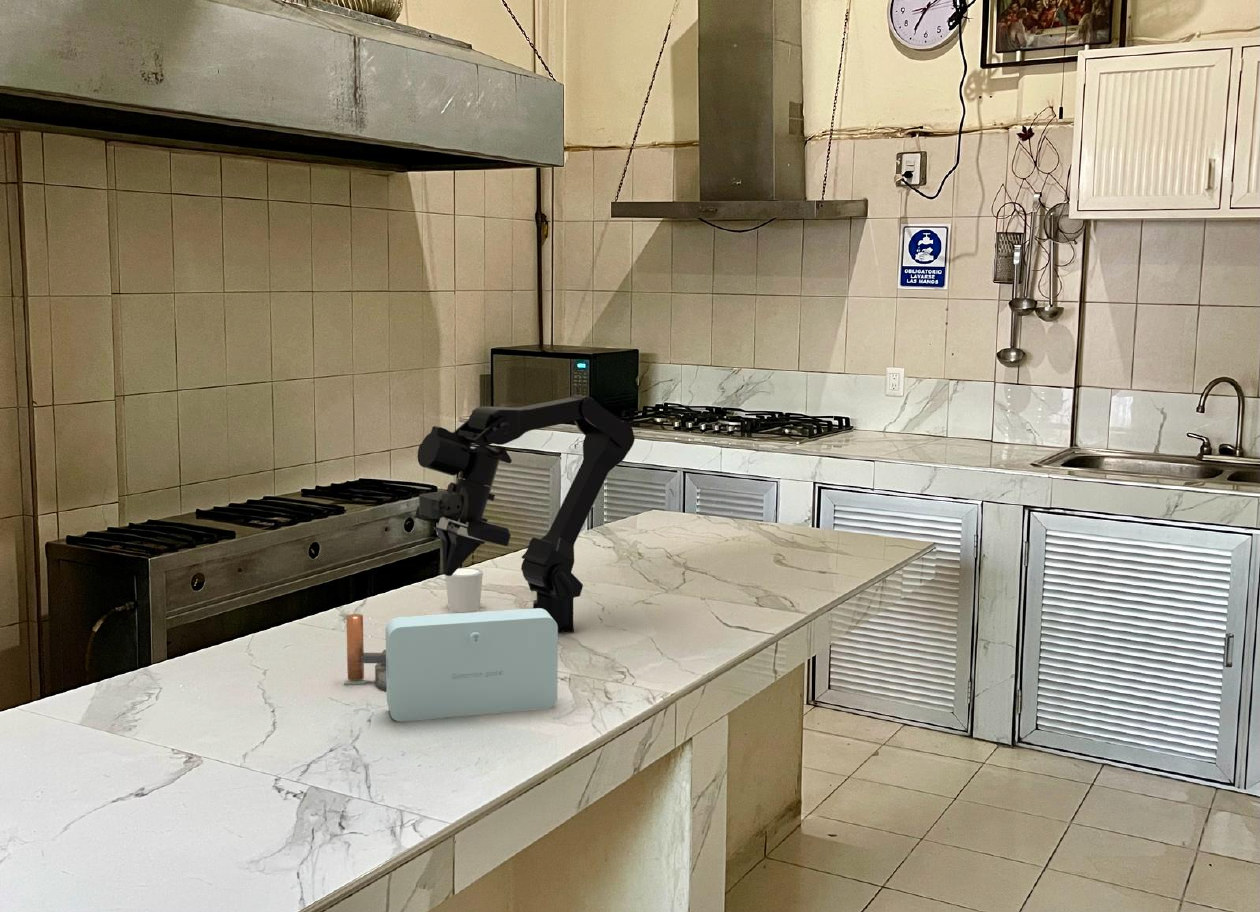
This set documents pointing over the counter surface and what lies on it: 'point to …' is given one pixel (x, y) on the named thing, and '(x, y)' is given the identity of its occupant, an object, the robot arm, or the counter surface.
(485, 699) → the pale blue box
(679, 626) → the counter surface
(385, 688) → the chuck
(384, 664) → the copper rod with bracket
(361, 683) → the pale green bar
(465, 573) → the white cup
